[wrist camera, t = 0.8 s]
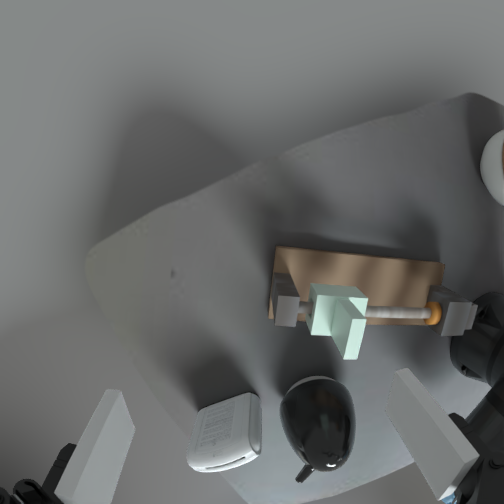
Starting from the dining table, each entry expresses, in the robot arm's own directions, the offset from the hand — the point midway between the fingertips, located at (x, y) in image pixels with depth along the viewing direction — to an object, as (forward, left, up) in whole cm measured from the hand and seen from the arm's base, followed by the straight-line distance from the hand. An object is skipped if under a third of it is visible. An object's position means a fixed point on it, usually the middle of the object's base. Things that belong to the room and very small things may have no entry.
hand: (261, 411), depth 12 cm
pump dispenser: (-10, +18, -26) cm, 33 cm away
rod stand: (-14, +1, -26) cm, 29 cm away
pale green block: (-8, +1, -19) cm, 20 cm away
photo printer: (+2, +22, -26) cm, 34 cm away
